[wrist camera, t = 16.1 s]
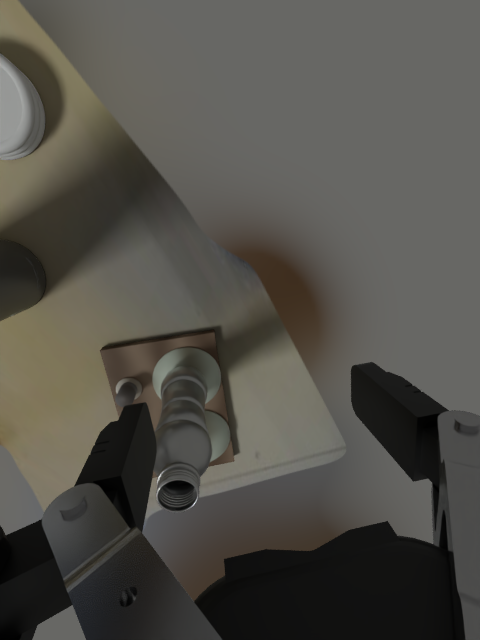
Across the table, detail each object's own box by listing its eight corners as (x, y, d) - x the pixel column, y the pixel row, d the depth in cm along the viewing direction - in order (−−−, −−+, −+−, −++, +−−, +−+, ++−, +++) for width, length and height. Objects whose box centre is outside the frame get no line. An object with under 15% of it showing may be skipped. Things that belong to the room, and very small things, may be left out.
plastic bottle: (196, 353, 43) (197, 451, 24) (214, 391, 45) (227, 508, 26) (154, 370, 43) (122, 482, 24) (174, 407, 45) (159, 536, 26)
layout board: (138, 475, 50) (133, 496, 46) (102, 347, 43) (92, 359, 39) (233, 456, 51) (236, 475, 47) (213, 329, 44) (215, 339, 40)
